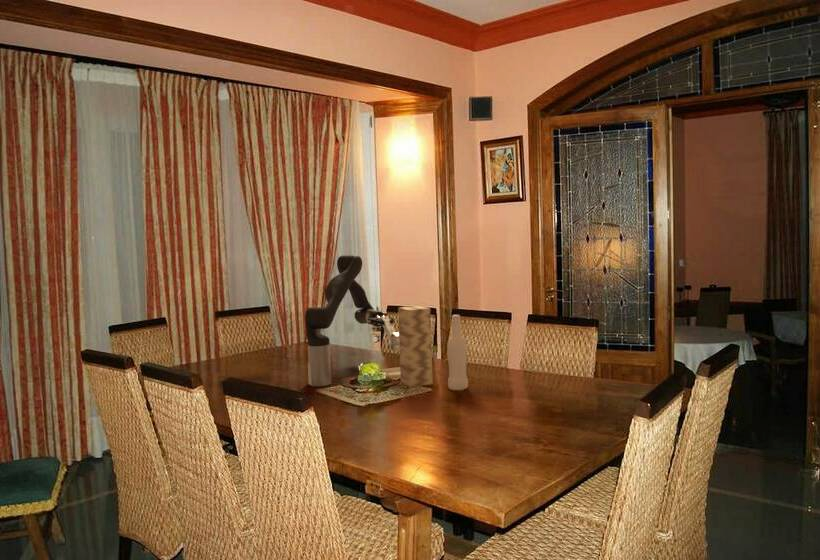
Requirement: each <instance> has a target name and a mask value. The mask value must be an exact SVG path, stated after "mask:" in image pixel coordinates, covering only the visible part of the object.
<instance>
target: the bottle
mask: <svg viewBox="0 0 820 560" xmlns="http://www.w3.org/2000/svg"><path fill="white" fill-rule="evenodd" d="M461 321H462V320H461V315H460V314H453V315H451V337H450V338H449V339H448V340H447V345H446V348H447V349H446V351H447V360H448V374H449V375H448V379H447V386H448V389H449V390H451V391H465V390H466V388H467V389H468V386H469V379H468V377H467V350H468V349H467V347H468V346H467V341H466V340H465V338H464V336H462V327H461V323H462V322H461ZM464 389H465V390H464Z"/></svg>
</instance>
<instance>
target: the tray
mask: <svg viewBox="0 0 820 560" xmlns="http://www.w3.org/2000/svg"><path fill="white" fill-rule="evenodd" d="M380 370H382V371H384V372H386V373H387V374H388V375H387V377H392V378H401V372H400V366H399V367H398V366H397V367H391V368H384V369H383V368H382V369H380Z"/></svg>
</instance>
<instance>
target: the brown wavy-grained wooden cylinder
mask: <svg viewBox="0 0 820 560" xmlns="http://www.w3.org/2000/svg"><path fill="white" fill-rule="evenodd" d="M397 311H398V312H397V316H398V332H399V344H400V350H399V365H400V366H399V367H400V372H401V380H400V382H401V381H402V382H403V383H402V382H401V383H402V384H404V383H405V384H404V385H406V384H407V385H406V386H408V385H409V386H408V387H410V386H414V387H420V386H421V387H423V386H429V385H433V360H432V359H433V358H432V357H433V355H432V330H431V329H432V325H431V324H432V323H431V322H432V321H431V320H432V319H431V308H430V307H425V306H421V305H415V306H414V305H413V306H402V307H398V308H397Z"/></svg>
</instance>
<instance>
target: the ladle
mask: <svg viewBox="0 0 820 560" xmlns="http://www.w3.org/2000/svg"><path fill="white" fill-rule="evenodd" d="M389 318H390V317H388V315H385V316H383V317H381V320H384V321H385V325H382V326H381V327H383V329H384V332H385V334H386V335H387V337H388V339H389V348H390V349H391V350H392V351H400V344H399V331H398V332H397V331H396V330H395V328H394V326H393V323H392V324H391V322H390V320H389Z"/></svg>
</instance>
